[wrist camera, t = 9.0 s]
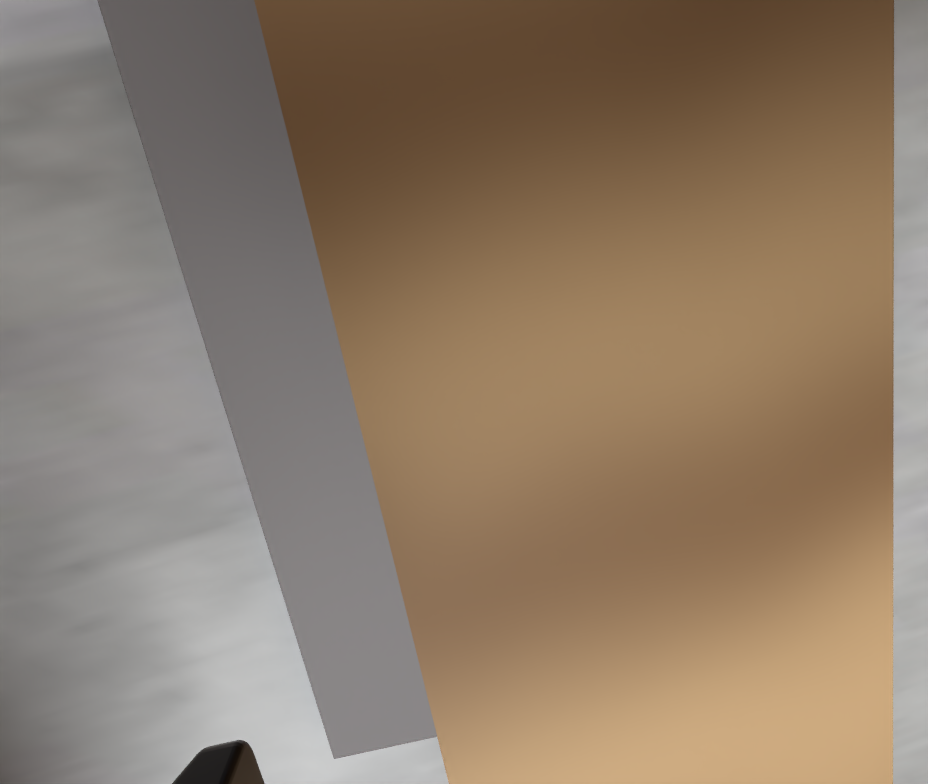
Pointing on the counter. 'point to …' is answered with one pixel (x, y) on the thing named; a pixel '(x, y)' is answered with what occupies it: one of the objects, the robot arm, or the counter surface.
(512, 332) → the shelf plank
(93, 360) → the counter surface
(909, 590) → the counter surface
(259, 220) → the peg stand
